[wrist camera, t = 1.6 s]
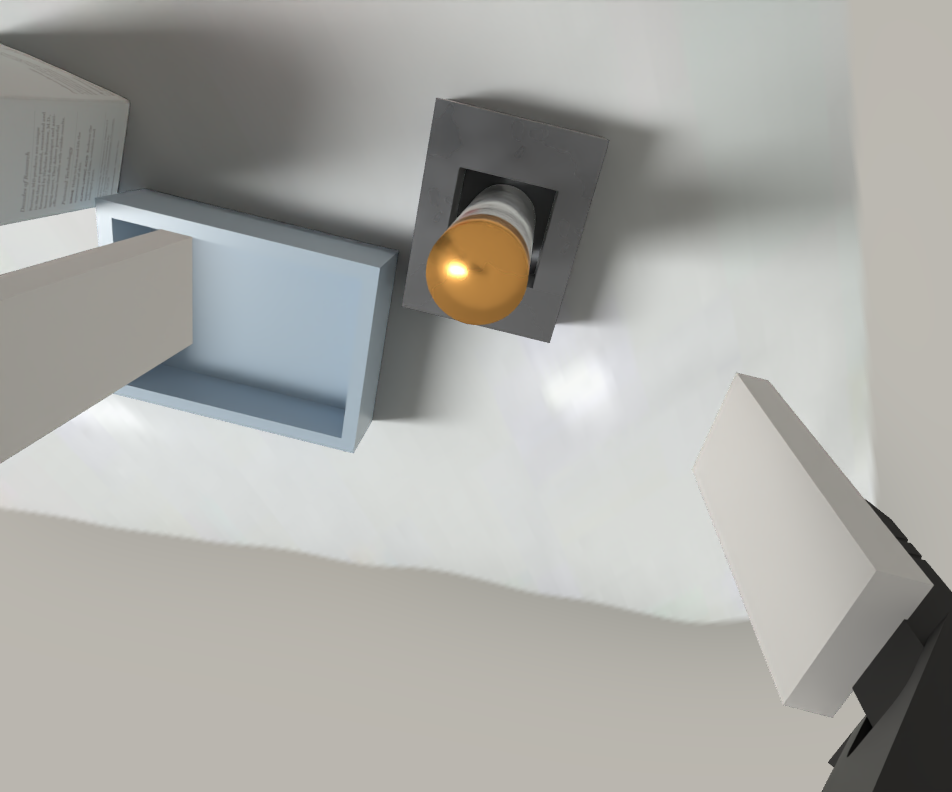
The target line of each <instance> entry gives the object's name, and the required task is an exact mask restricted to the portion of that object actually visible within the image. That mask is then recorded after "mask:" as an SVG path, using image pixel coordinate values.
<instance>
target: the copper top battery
mask: <svg viewBox="0 0 952 792" xmlns="http://www.w3.org/2000/svg"><path fill="white" fill-rule="evenodd" d="M535 224H536V214H535V209H534V206H533V204H532V202H531V200H530V199H529V197H528V196H527V195H526V194H525V193H524V192H523V191H521V190H520V189H518V188H516V187H514V186H511V185H507V184H498V185H493V186H490V187H488V188H486V189H484V190H483V191H481V192H480V193H479V194H478V195H477V196H476V197H475V199H474V200H473V201H472V202H471V203H470V204H469V205H468V206H467V208H466V209H465V210H464V211H463V212H462V213H461V214H460V216H459V217H458V218H457V219H456V220H455V221H454V222H453V223H452V225H451V226H450V227H449V228H448V229H447V230H446V231H445V233H444V234H443V235H442V236H441V237H440V238H439V239H438V241H437V242H436V243H435V245H434V246H433V248H432V250H431V251H430V254H429V257H428V260H427V265H426V280H427V285H428V289H429V291H430V294H431V296H432V298H433V299H434V301H435V303H436V304H437V305H438V307H439V308H440V309H441V310H442V311H443V312H445V313H446V314H447V315H448V316H450V317H452V318H453V319H455V320H458V321H460V322H463V323H466V324H472V325H485V324H490V323H494V322H497V321H499V320H501V319H503V318H505V317H506V316H508V315H509V314H510V313H511V312H513V311H514V310H515V308H516V307H517V306H518V305H519V303H520V302H521V300H522V298H523V296H524V294H525V291H526V288H527V283H528V276H529V269H530V261H531V254H532V246H533V239H534V231H535Z"/></svg>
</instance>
